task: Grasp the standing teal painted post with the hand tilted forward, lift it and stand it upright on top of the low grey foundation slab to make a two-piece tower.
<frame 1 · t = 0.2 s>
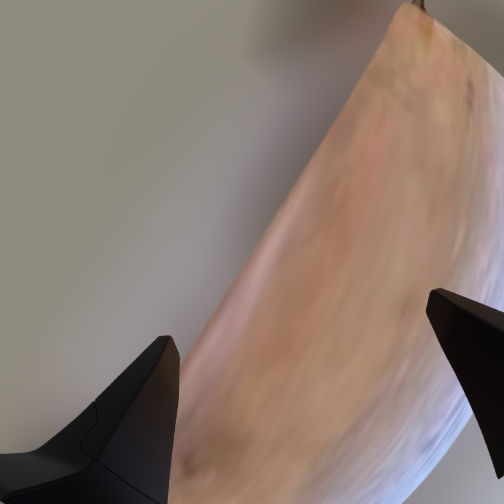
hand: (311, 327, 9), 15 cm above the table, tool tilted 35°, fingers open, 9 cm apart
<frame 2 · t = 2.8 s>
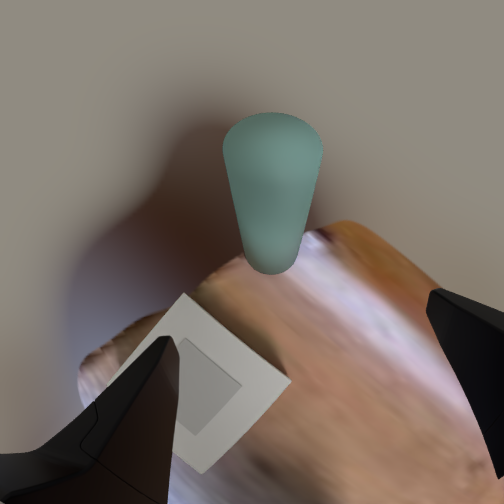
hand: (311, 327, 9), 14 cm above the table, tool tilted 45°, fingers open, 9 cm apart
pillar: (271, 248, 24), on the table
plinth: (200, 384, 21), on the table
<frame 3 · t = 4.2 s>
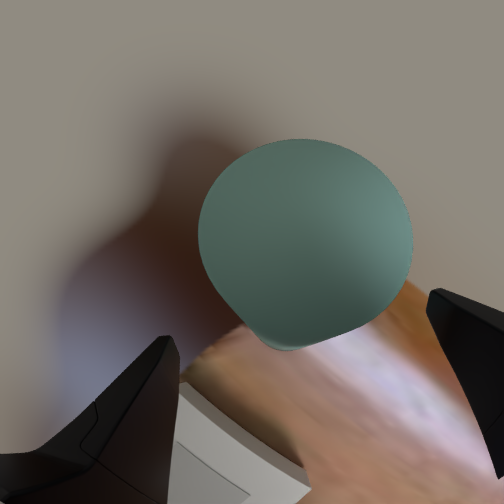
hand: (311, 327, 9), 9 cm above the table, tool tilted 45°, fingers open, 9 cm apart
pillar: (287, 315, 18), on the table
plinth: (198, 476, 14), on the table
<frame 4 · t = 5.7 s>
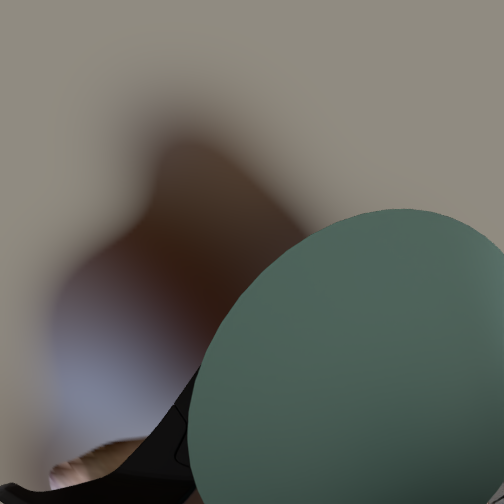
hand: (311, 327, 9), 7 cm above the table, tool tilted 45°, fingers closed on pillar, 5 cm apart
pillar: (298, 362, 14), on the table, touching gripper
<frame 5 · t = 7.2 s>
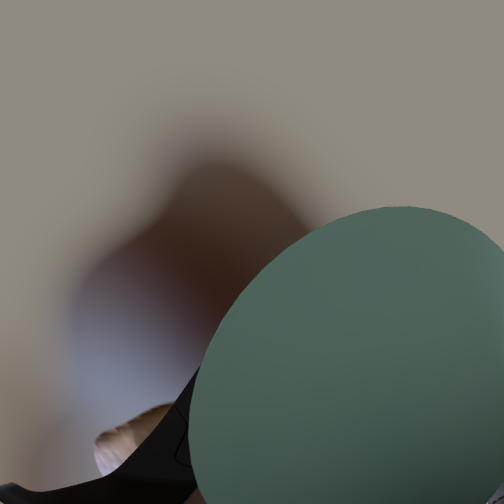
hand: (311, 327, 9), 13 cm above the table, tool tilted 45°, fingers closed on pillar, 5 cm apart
pillar: (298, 362, 14), point 7 cm above the table, touching gripper
when the fingers open (10 cm above the table, at t = 9.1 s): pillar stays where it is, resting on plinth.
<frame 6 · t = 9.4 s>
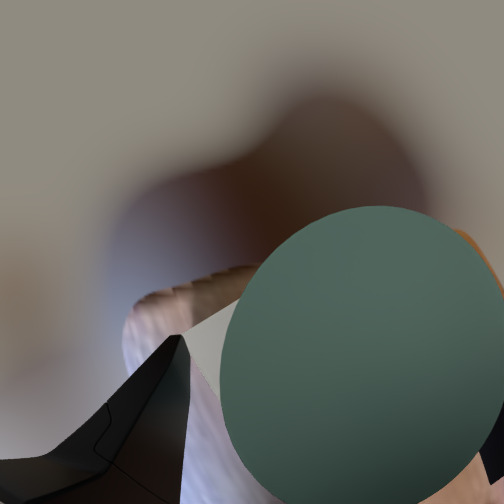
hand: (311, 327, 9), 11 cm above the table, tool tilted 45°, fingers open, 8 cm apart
pillar: (297, 363, 15), point 3 cm above the table, touching plinth
plinth: (292, 360, 18), on the table
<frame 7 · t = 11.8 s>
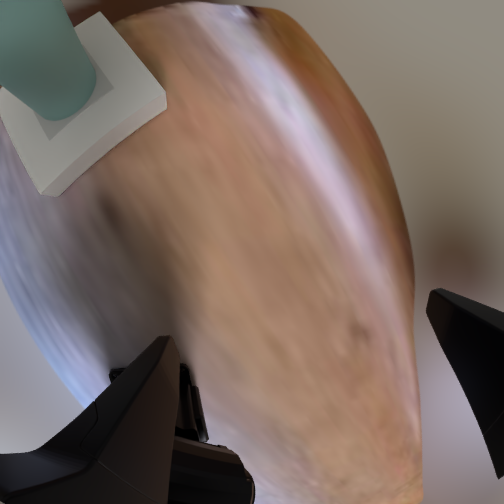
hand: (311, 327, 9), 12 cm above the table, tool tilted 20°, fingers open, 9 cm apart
pillar: (64, 88, 13), point 3 cm above the table, touching plinth
plinth: (78, 104, 16), on the table
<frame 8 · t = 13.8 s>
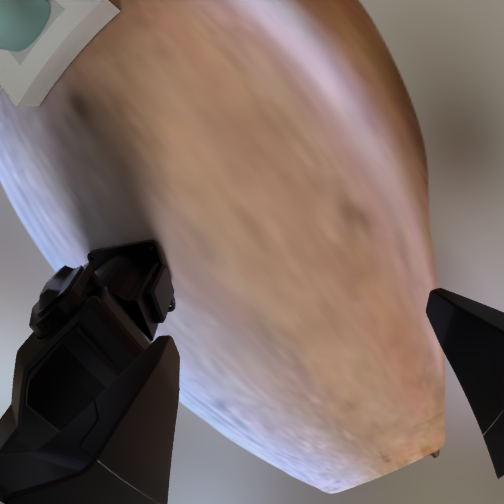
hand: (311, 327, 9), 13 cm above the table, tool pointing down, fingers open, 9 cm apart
pillar: (28, 25, 10), point 3 cm above the table, touching plinth
plinth: (48, 31, 13), on the table
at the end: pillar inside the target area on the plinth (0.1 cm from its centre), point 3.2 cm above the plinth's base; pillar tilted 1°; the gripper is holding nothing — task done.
